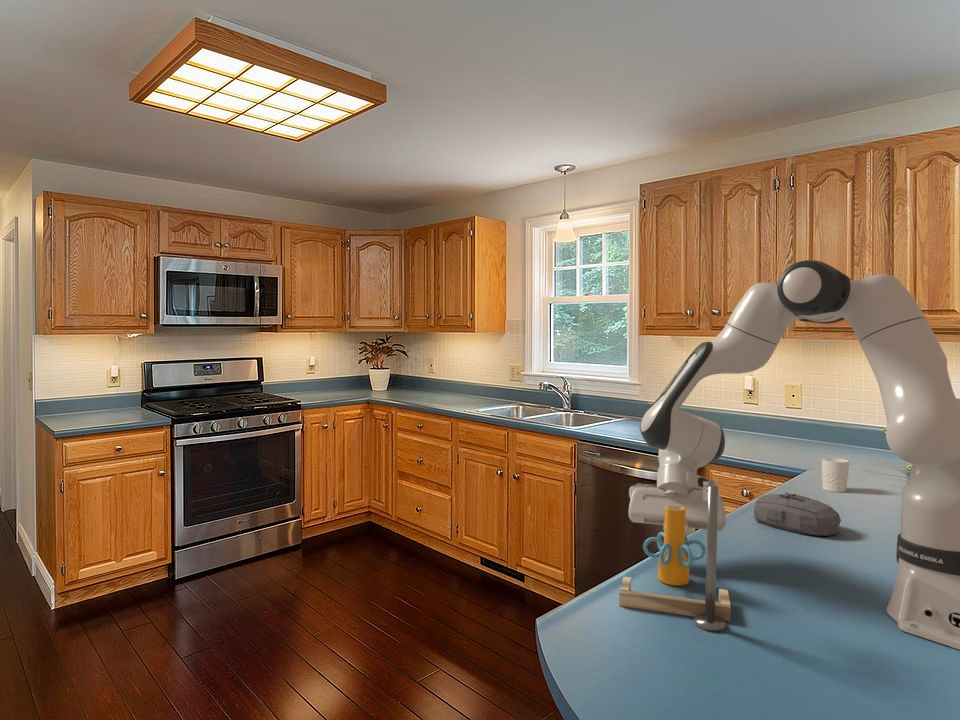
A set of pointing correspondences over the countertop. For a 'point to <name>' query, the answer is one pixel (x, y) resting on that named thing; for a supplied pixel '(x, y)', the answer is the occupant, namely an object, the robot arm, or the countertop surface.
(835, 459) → the white cup
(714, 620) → the round-based metal post
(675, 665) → the countertop surface
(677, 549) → the vase
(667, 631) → the countertop surface
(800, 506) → the grey rounded bag
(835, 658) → the countertop surface
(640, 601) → the yoke
